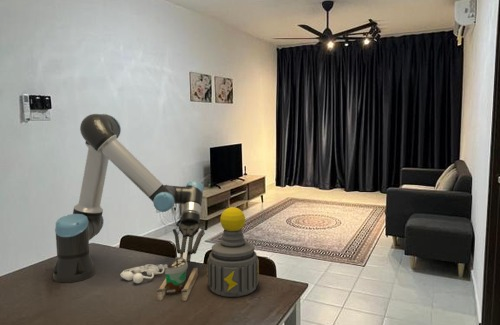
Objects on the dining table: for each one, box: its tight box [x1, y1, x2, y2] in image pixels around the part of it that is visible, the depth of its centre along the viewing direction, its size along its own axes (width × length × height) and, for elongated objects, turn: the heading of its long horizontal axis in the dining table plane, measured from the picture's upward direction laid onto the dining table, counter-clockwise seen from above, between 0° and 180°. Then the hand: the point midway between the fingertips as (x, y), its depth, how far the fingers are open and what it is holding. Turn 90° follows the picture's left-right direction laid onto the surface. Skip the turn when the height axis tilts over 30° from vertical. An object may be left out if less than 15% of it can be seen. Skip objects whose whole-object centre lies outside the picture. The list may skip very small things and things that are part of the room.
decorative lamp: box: [206, 206, 260, 298], centre depth 142 cm, size 19×19×30 cm
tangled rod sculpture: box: [120, 263, 169, 284], centre depth 155 cm, size 19×14×4 cm
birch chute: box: [156, 267, 198, 302], centre depth 143 cm, size 10×22×4 cm, turn 178°
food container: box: [164, 256, 189, 295], centre depth 141 cm, size 12×6×10 cm, turn 173°
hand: (183, 270), depth 146 cm, fingers closed
